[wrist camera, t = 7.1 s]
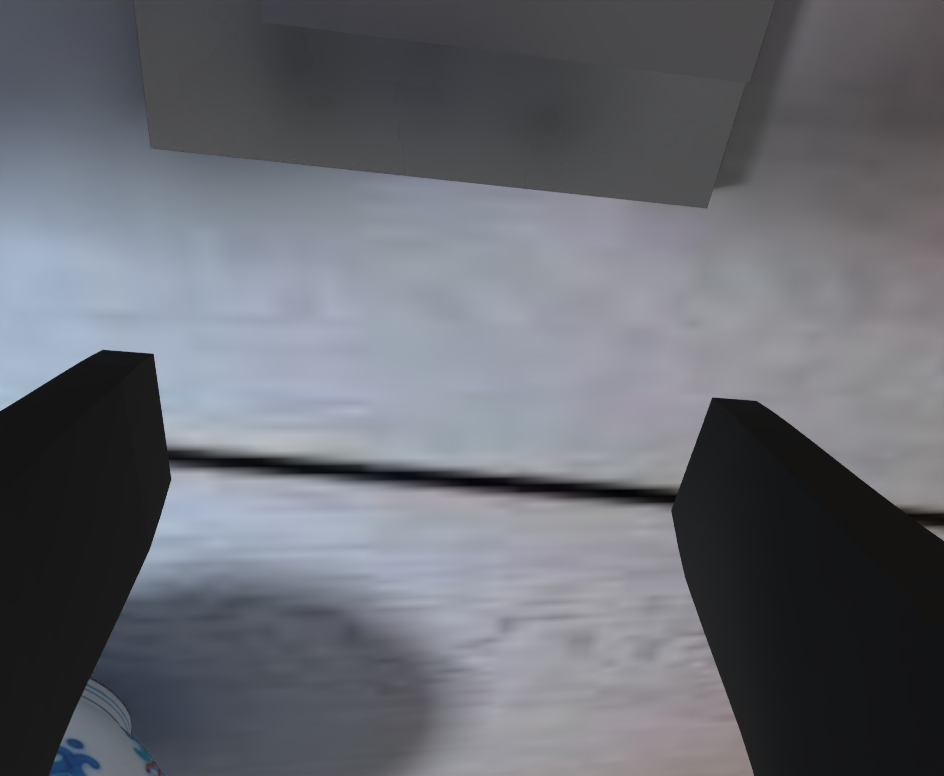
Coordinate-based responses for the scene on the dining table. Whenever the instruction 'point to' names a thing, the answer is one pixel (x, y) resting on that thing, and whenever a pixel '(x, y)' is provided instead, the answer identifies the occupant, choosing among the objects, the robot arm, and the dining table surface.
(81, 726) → the chinaware
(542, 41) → the column
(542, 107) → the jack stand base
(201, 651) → the dining table surface
